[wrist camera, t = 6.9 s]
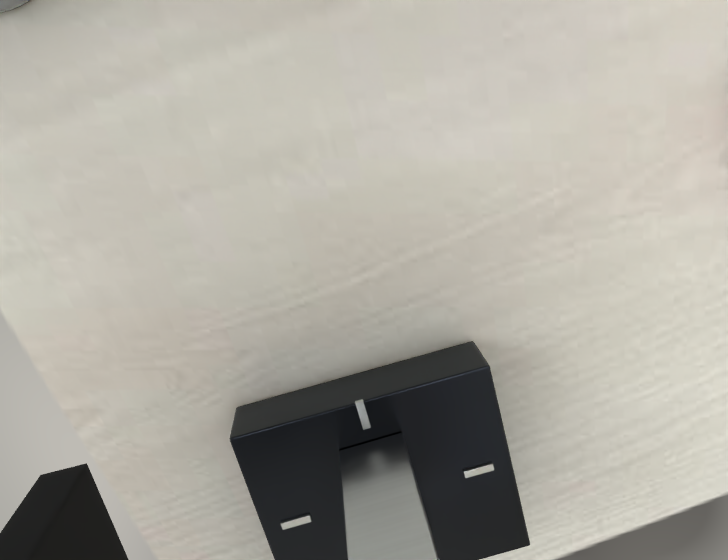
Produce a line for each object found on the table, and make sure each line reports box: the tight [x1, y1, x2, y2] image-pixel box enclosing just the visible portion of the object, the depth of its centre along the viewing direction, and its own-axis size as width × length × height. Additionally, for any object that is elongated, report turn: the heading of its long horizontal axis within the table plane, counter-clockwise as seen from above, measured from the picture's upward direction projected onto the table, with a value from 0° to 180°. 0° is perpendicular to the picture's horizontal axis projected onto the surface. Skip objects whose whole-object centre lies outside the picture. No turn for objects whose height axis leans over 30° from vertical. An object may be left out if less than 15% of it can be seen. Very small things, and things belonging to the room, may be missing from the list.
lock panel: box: [230, 341, 530, 560], centre depth 32 cm, size 12×10×3 cm
